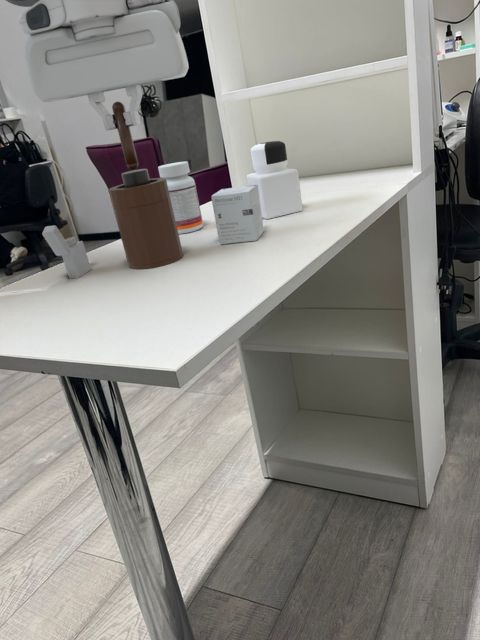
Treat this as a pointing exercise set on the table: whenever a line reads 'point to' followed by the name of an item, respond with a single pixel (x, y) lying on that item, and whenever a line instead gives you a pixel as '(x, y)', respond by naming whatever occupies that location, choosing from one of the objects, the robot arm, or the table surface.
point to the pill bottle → (182, 196)
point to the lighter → (68, 251)
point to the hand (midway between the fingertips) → (123, 127)
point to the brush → (129, 151)
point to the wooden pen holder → (146, 224)
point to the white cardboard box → (238, 214)
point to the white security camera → (275, 180)
